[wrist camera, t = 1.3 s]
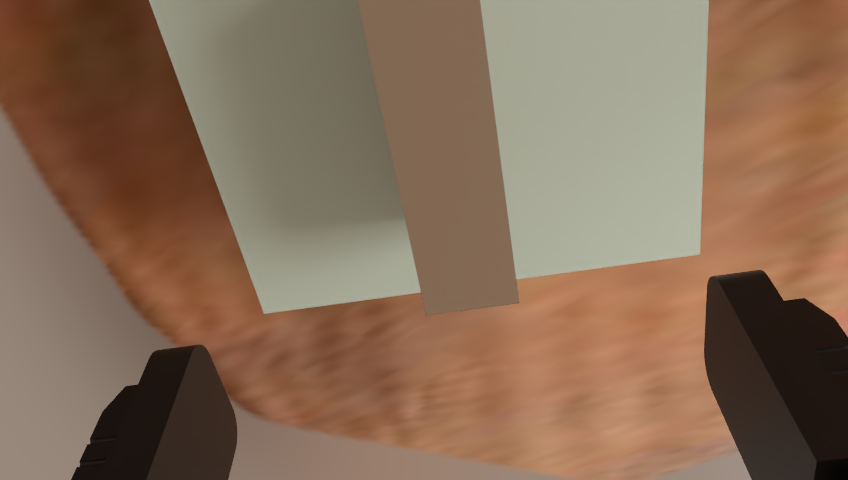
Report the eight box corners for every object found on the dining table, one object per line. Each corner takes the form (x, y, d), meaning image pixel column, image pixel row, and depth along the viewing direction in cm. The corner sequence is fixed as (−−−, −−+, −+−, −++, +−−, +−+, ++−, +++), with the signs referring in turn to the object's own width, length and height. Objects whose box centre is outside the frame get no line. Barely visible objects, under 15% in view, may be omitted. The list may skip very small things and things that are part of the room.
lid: (690, -283, 19) (812, -288, 13) (681, 219, 27) (753, 357, 21) (119, -169, 21) (-5, -126, 15) (274, 276, 29) (234, 420, 23)
